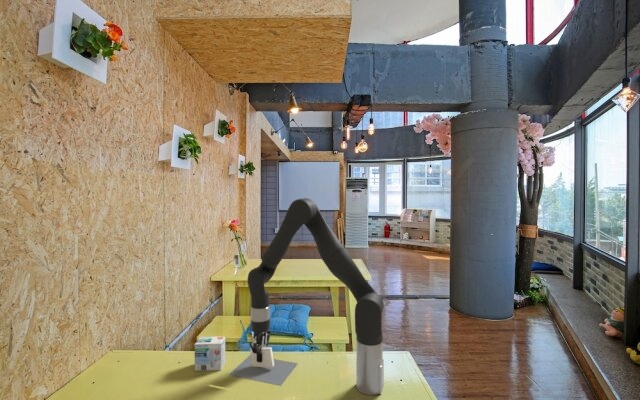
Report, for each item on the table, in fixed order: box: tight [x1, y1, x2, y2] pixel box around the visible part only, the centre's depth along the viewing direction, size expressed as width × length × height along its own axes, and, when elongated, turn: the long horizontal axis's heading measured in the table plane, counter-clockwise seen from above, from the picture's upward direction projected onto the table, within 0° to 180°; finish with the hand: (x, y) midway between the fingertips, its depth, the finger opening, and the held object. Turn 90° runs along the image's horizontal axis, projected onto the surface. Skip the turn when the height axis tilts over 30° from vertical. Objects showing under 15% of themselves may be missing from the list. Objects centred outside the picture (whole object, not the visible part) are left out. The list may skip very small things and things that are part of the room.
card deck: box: [249, 346, 274, 367], centre depth 132 cm, size 9×2×7 cm, turn 71°
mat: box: [228, 354, 299, 387], centre depth 131 cm, size 22×16×1 cm
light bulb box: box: [194, 336, 226, 372], centre depth 134 cm, size 11×7×11 cm, turn 93°
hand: (260, 360), depth 133 cm, fingers closed on card deck, 1 cm apart
